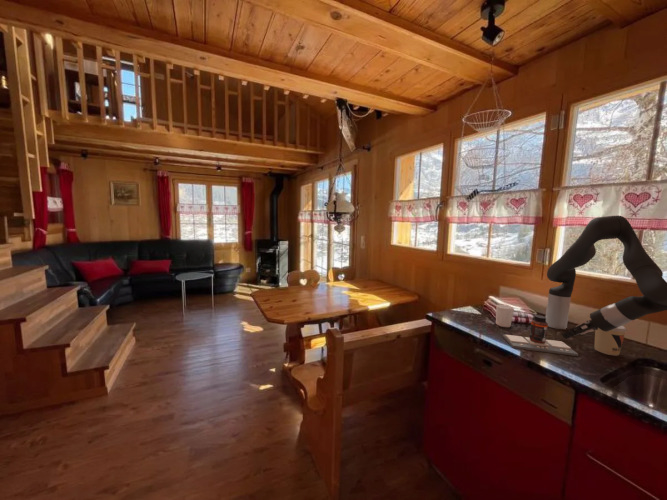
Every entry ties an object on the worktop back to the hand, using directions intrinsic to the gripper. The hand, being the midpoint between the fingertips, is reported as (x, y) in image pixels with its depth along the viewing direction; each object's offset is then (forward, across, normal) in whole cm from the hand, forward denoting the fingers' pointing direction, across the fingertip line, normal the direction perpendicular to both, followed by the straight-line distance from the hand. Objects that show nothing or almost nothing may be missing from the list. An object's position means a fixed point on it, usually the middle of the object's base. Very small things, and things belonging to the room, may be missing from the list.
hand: (569, 335), depth 114 cm
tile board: (+14, +1, -1) cm, 14 cm away
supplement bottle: (+13, 0, -3) cm, 14 cm away
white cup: (+29, -10, -17) cm, 35 cm away
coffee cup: (+3, -23, +10) cm, 25 cm away
